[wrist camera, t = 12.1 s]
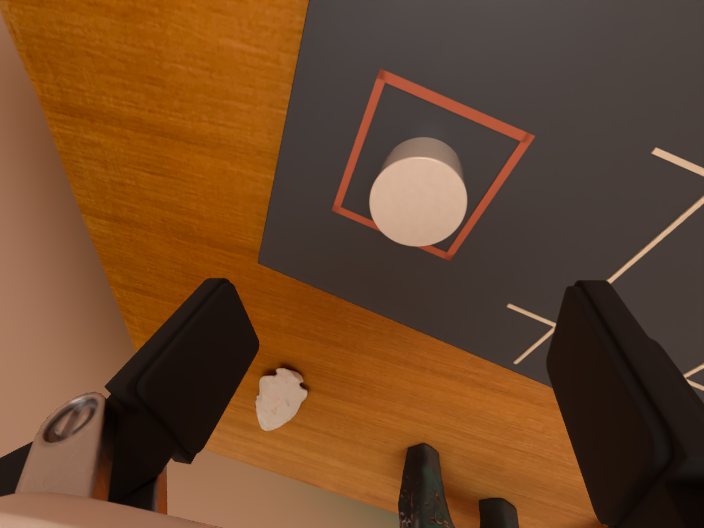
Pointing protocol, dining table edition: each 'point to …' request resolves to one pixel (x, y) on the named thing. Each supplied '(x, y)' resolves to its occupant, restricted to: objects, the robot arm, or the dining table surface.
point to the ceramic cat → (440, 496)
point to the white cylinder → (419, 193)
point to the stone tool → (279, 398)
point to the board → (503, 166)
